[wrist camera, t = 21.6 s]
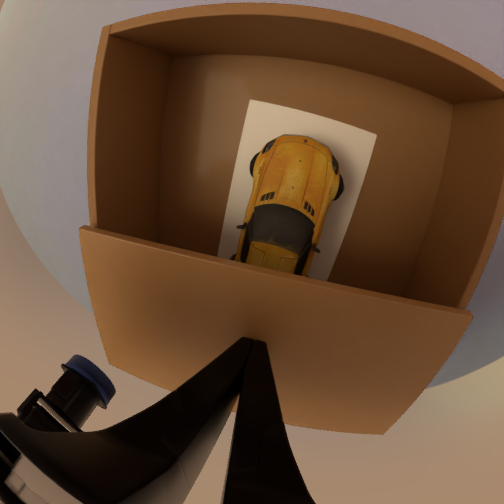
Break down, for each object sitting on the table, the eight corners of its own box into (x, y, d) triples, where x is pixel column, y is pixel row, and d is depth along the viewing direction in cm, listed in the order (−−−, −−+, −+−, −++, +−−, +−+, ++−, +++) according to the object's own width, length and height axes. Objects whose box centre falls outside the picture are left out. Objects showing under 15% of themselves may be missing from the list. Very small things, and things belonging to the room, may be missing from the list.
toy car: (353, 150, 11) (362, 153, 8) (299, 307, 14) (294, 336, 12) (261, 124, 11) (249, 121, 9) (226, 285, 15) (211, 309, 13)
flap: (382, 428, 10) (383, 435, 10) (112, 359, 13) (108, 363, 12) (470, 310, 7) (474, 316, 7) (84, 224, 9) (77, 228, 9)
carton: (374, 354, 16) (382, 423, 11) (159, 303, 18) (116, 355, 13) (457, 100, 9) (521, 92, 4) (170, 51, 11) (102, 26, 6)
